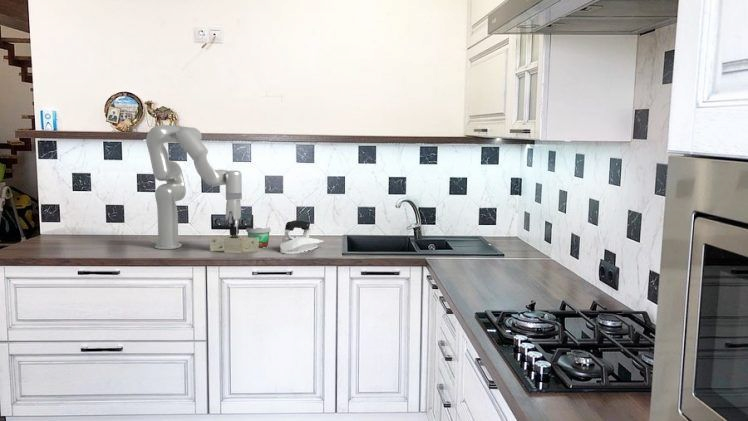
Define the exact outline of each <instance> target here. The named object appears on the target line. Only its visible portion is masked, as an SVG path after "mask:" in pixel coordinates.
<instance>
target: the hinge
mask: <svg viewBox="0 0 748 421" xmlns="http://www.w3.org/2000/svg"><path fill="white" fill-rule="evenodd" d="M259 249H260V248H259V238H250V237H248V236H246V237H245V236H244V235H238V238H231V235H227V236H220V235H219V236H215V235H214V236H213V235H210V236H209V251H210V252H224V253H225V254H241V253H257V252H258V253H259Z"/></svg>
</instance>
